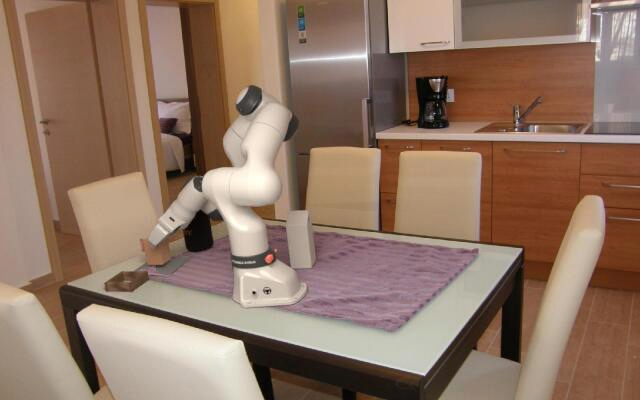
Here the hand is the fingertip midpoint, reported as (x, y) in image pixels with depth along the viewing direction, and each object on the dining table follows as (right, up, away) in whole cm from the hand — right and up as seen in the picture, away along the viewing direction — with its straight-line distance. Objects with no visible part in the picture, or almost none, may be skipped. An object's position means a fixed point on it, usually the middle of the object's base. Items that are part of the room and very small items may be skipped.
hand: (158, 243), depth 204 cm
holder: (-7, -13, -12) cm, 19 cm away
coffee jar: (+11, -3, +19) cm, 22 cm away
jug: (-1, -7, +2) cm, 7 cm away
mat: (0, -9, +2) cm, 9 cm away
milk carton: (+52, -7, -10) cm, 53 cm away
